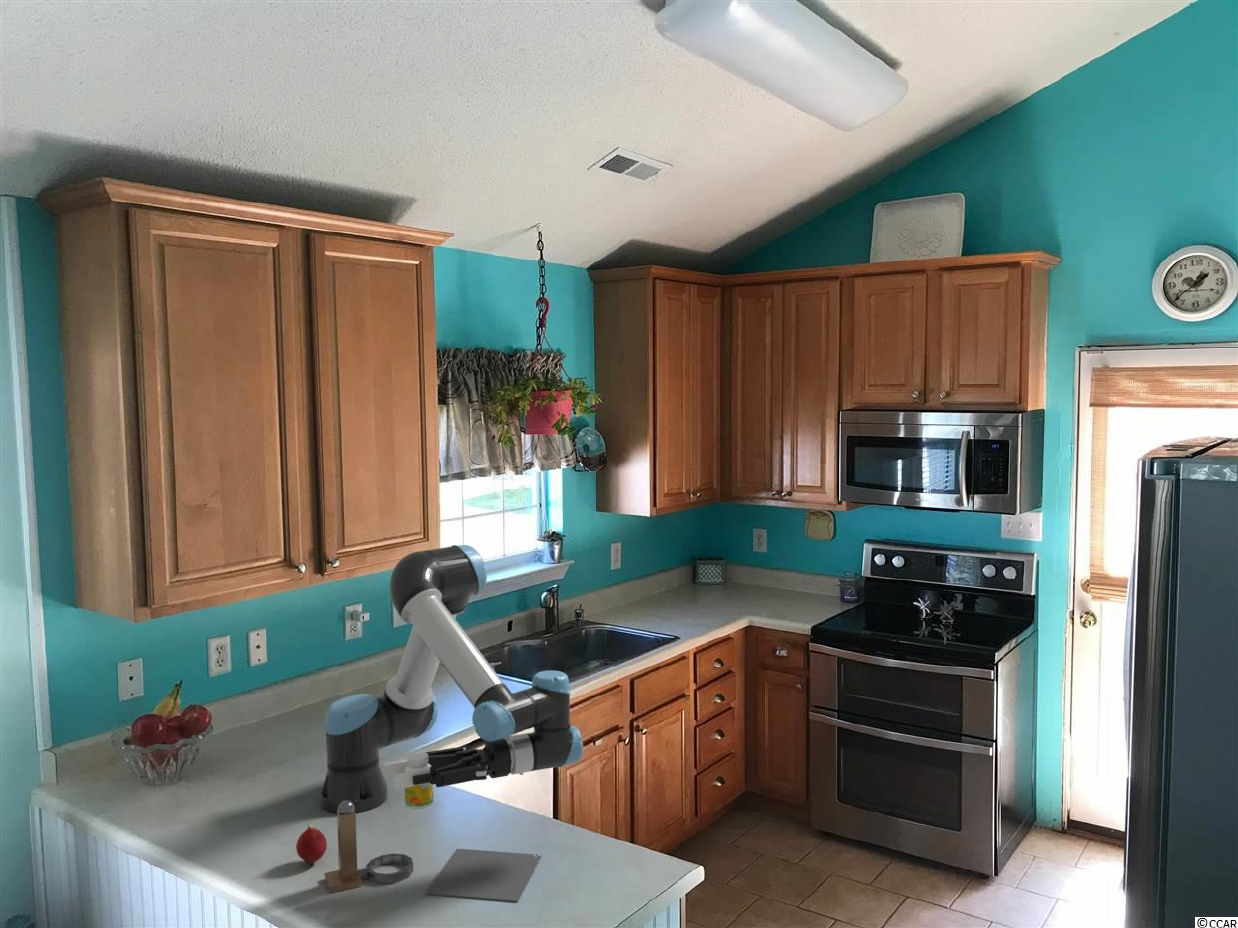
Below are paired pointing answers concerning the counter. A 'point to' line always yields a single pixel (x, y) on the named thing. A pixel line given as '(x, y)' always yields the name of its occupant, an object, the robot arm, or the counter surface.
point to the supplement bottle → (422, 793)
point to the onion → (311, 845)
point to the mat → (485, 875)
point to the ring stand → (348, 857)
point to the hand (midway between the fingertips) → (391, 776)
